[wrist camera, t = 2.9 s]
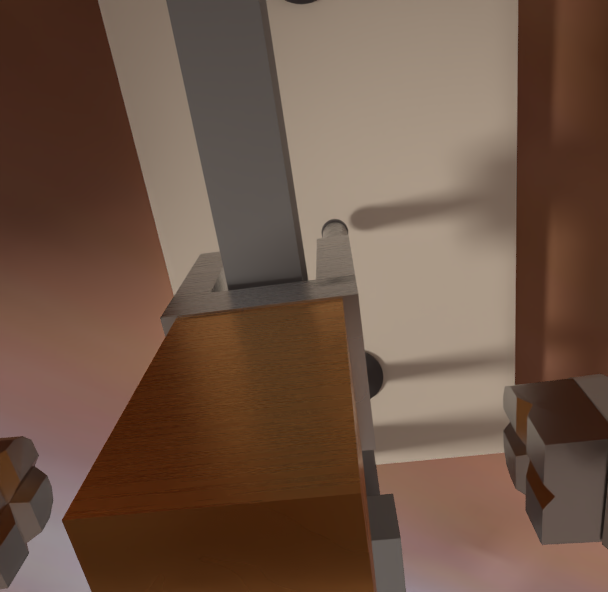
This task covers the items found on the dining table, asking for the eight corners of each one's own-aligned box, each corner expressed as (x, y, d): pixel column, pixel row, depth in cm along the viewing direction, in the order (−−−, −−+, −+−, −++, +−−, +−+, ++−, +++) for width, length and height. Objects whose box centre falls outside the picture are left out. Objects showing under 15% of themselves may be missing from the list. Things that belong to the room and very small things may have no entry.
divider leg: (255, 283, 22) (124, 724, 7) (237, 194, 20) (33, 519, 6) (352, 271, 21) (421, 707, 7) (342, 180, 20) (399, 486, 5)
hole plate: (226, 458, 28) (166, 707, 17) (50, -251, 17) (-412, -787, 6) (504, 431, 27) (627, 678, 16) (504, -347, 16) (884, -1199, 5)
